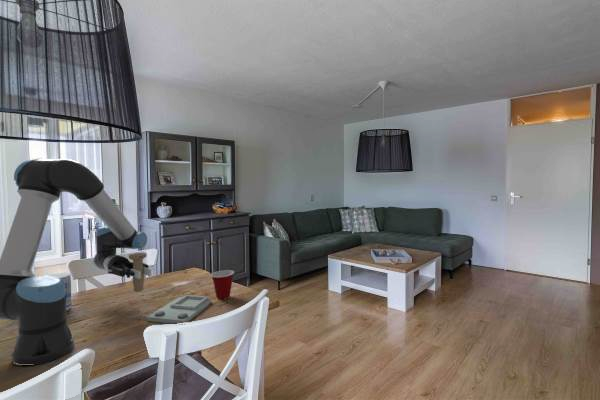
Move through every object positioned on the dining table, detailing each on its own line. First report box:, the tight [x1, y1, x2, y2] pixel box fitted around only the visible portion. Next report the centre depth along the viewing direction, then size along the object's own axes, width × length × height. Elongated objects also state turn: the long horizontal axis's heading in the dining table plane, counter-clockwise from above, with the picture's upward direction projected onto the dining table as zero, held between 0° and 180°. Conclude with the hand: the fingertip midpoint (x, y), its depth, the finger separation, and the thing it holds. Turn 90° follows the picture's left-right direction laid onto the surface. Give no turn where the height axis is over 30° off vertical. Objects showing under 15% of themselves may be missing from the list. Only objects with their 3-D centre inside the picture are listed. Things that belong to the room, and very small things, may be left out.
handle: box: [128, 252, 148, 293], centre depth 126 cm, size 5×6×15 cm
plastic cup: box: [210, 269, 235, 300], centre depth 147 cm, size 11×11×12 cm
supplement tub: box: [46, 272, 72, 312], centre depth 132 cm, size 10×10×15 cm
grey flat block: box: [146, 294, 213, 324], centre depth 132 cm, size 22×16×3 cm
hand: (145, 273), depth 123 cm, fingers closed on handle, 3 cm apart
